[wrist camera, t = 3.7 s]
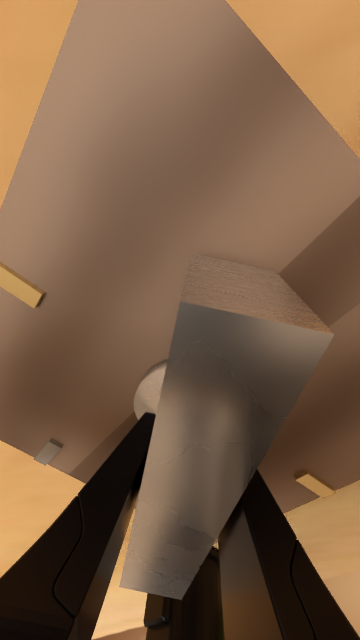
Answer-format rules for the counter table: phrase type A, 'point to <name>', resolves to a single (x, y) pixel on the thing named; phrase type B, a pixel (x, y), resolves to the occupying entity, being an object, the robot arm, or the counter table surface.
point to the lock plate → (171, 232)
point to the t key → (215, 412)
